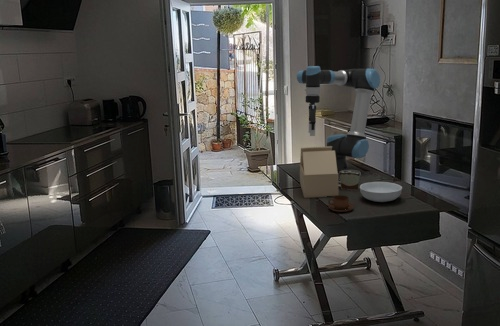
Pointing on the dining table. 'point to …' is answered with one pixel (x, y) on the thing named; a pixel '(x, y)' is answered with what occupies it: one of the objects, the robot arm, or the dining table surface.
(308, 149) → the flap
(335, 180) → the carton
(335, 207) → the cup and saucer
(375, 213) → the dining table surface
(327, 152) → the flap
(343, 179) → the food container
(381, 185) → the serving bowl
